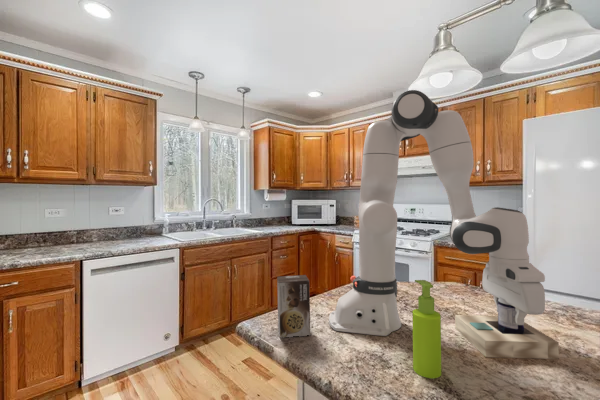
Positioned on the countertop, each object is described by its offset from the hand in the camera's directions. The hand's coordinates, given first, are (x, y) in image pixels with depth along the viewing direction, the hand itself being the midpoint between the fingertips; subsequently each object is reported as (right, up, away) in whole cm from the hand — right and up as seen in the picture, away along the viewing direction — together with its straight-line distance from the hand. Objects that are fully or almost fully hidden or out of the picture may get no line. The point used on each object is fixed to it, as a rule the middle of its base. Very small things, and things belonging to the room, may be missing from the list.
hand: (509, 318), depth 78 cm
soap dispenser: (-28, -7, -12) cm, 31 cm away
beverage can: (0, -7, 0) cm, 7 cm away
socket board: (-2, -7, 0) cm, 7 cm away
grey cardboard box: (-59, -7, +7) cm, 60 cm away
